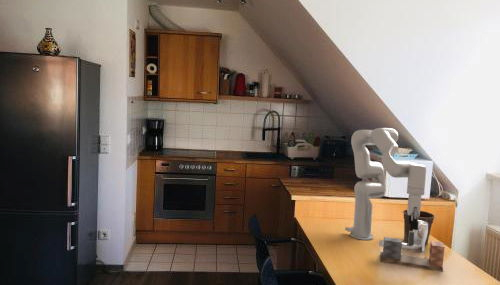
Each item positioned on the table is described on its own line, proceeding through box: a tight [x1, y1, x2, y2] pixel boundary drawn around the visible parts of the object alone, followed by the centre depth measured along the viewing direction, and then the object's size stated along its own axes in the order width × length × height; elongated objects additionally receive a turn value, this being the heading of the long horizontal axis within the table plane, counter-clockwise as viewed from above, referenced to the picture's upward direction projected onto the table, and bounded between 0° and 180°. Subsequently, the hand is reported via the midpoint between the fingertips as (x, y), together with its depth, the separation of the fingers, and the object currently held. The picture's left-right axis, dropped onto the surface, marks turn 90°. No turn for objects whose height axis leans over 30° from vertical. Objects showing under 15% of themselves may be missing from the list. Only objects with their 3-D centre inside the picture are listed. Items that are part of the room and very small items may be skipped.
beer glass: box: [413, 220, 428, 253], centre depth 209 cm, size 7×7×15 cm
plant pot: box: [402, 209, 436, 246], centre depth 222 cm, size 16×16×16 cm
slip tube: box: [378, 231, 423, 253], centre depth 193 cm, size 19×3×9 cm, turn 73°
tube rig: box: [379, 236, 445, 272], centre depth 192 cm, size 27×10×11 cm, turn 72°
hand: (413, 226), depth 190 cm, fingers open, 9 cm apart
